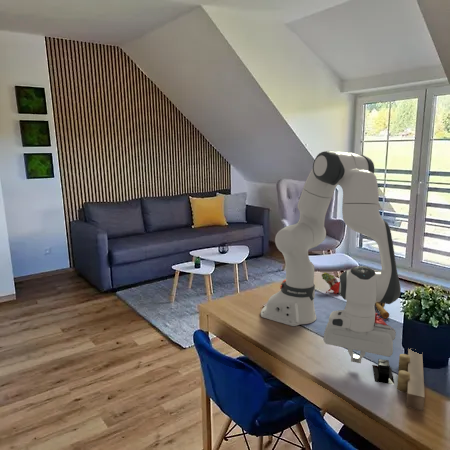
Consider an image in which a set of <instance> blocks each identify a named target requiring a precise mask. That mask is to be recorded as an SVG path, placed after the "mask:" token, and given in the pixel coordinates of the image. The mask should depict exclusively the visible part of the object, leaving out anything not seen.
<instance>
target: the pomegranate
mask: <svg viewBox="0 0 450 450" xmlns="http://www.w3.org/2000/svg"><path fill="white" fill-rule="evenodd" d="M378 314H379V313H378V312H375V323H378V324H382V325H388V324H387V322H385V319H384V318H383V317H382V315H381V314H380V315H378ZM374 327H375V326H374Z"/></svg>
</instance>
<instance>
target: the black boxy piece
mask: <svg viewBox="0 0 450 450" xmlns="http://www.w3.org/2000/svg"><path fill="white" fill-rule="evenodd" d="M377 361H378V362H377V363H378V364H377V365H376V364H372V372H373V378H374V382H375V383H381V384H386V385H393V386H394V385H396V384H395V381H394V380H395V379H394V375H393V370H392V367H391V365H390V361H389V359H381V358H378V360H377Z"/></svg>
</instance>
